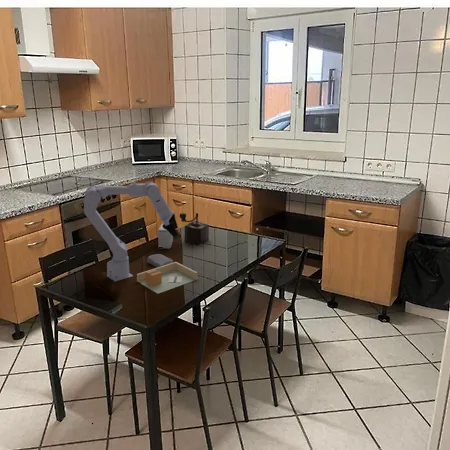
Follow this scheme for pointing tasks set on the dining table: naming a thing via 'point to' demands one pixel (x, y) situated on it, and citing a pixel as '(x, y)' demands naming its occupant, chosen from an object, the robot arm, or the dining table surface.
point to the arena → (169, 277)
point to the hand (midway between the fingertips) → (175, 232)
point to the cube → (153, 277)
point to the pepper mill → (195, 230)
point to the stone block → (159, 260)
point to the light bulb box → (164, 238)
